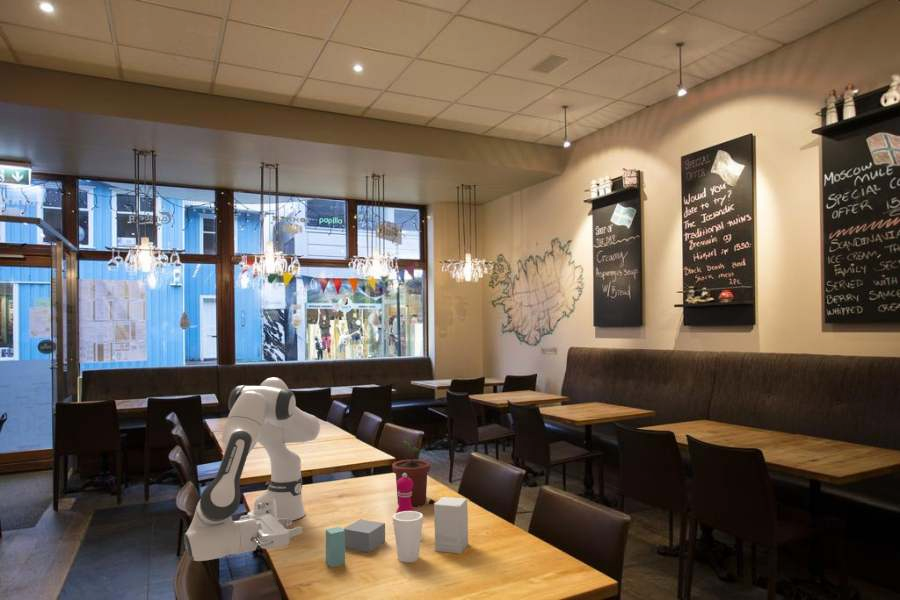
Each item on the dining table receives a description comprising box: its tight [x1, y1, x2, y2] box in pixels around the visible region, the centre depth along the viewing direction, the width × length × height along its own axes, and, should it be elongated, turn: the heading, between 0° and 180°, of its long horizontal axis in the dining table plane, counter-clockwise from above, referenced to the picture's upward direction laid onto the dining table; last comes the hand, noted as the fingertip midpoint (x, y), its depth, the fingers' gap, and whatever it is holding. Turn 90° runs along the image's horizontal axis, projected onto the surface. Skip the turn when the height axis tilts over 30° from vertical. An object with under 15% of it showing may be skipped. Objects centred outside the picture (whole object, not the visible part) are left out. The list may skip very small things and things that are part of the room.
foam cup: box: [392, 510, 424, 563], centre depth 175 cm, size 10×9×13 cm
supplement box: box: [433, 496, 469, 554], centre depth 183 cm, size 9×9×15 cm
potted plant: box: [391, 440, 436, 508], centre depth 233 cm, size 18×22×25 cm
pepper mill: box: [395, 473, 415, 514], centre depth 200 cm, size 7×7×20 cm
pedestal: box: [342, 519, 386, 553], centre depth 187 cm, size 10×10×6 cm
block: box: [325, 526, 346, 568], centre depth 173 cm, size 4×4×10 cm
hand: (296, 525), depth 166 cm, fingers open, 8 cm apart
